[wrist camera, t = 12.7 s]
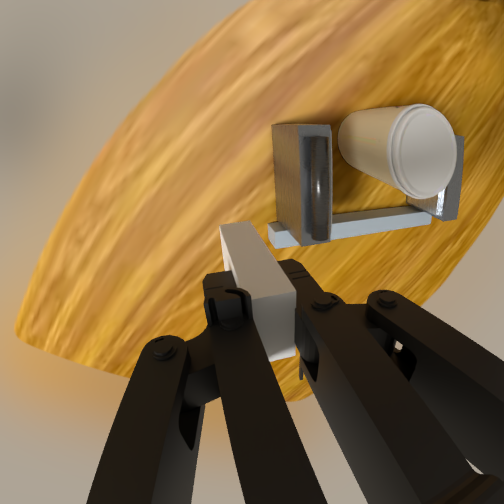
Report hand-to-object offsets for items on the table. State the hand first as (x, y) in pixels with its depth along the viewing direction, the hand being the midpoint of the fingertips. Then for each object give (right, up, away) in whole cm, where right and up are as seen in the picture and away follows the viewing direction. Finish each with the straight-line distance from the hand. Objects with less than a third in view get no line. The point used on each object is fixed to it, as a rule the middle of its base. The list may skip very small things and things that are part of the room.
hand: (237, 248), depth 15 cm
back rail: (+14, +4, +22) cm, 27 cm away
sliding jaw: (+5, +9, +18) cm, 20 cm away
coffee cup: (+15, +14, +18) cm, 27 cm away
